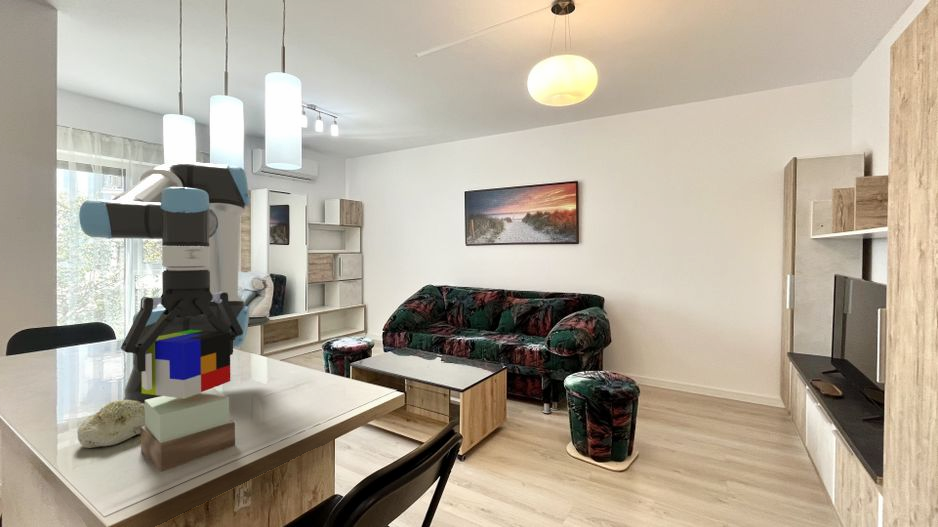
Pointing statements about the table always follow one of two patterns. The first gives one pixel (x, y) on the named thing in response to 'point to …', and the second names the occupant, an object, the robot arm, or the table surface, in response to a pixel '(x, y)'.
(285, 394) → the table surface
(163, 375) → the puzzle toy
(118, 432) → the decorative item
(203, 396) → the sage slab
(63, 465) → the table surface
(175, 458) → the walnut slab
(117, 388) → the table surface
